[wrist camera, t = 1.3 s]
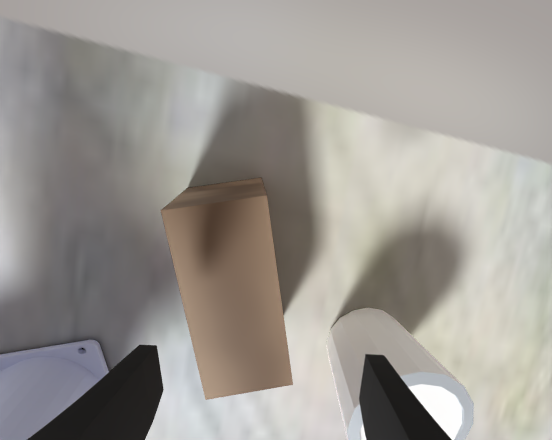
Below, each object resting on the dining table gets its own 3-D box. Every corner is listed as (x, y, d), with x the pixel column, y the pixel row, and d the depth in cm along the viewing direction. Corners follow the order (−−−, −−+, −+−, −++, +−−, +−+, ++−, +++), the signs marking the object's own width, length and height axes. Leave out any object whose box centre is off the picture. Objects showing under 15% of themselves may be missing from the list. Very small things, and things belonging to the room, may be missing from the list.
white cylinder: (344, 286, 21) (389, 356, 14) (425, 318, 22) (501, 395, 16) (302, 364, 23) (324, 461, 16) (380, 390, 24) (432, 490, 17)
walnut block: (217, 328, 21) (205, 399, 16) (187, 187, 19) (160, 210, 13) (280, 318, 22) (293, 384, 16) (261, 177, 19) (267, 195, 13)
